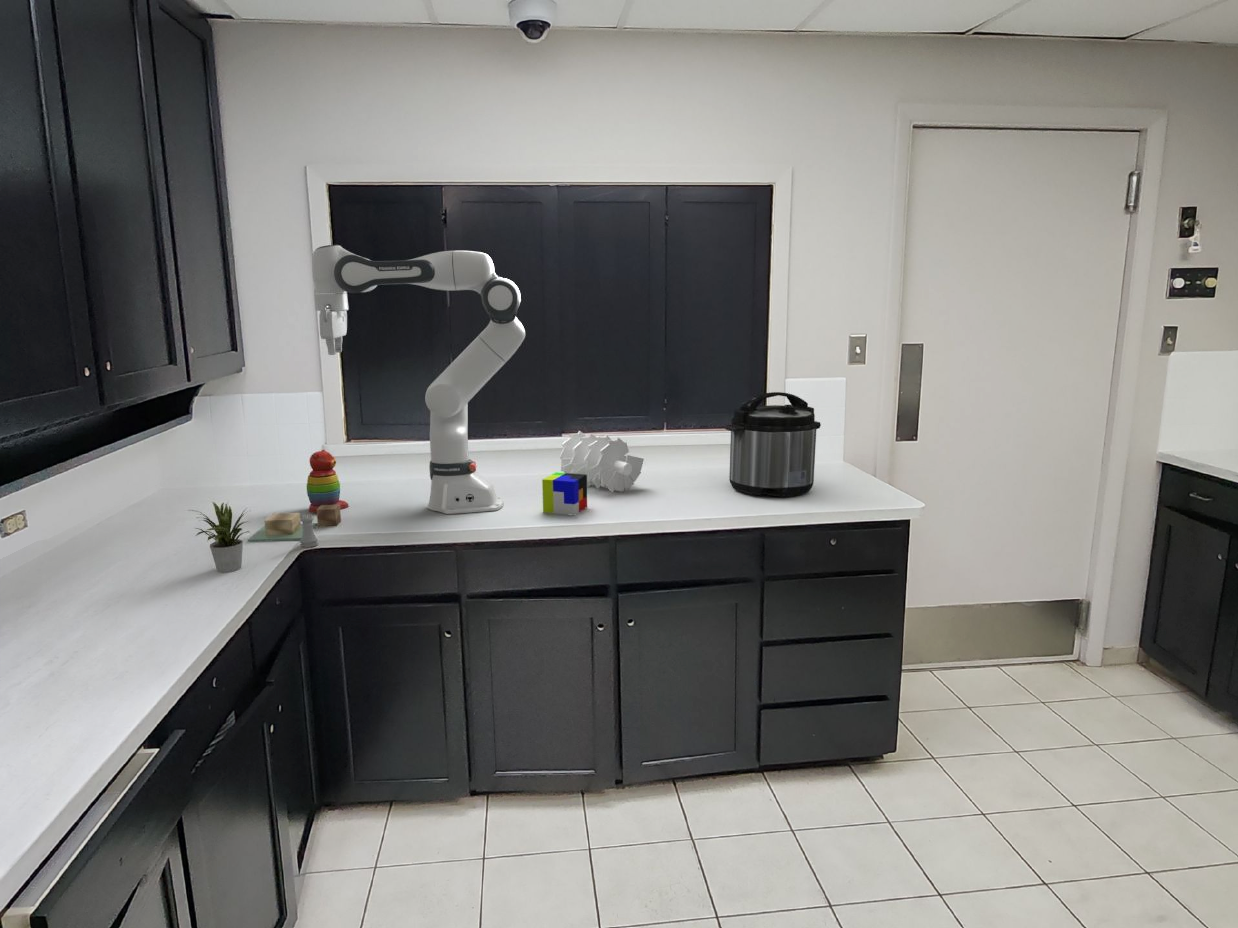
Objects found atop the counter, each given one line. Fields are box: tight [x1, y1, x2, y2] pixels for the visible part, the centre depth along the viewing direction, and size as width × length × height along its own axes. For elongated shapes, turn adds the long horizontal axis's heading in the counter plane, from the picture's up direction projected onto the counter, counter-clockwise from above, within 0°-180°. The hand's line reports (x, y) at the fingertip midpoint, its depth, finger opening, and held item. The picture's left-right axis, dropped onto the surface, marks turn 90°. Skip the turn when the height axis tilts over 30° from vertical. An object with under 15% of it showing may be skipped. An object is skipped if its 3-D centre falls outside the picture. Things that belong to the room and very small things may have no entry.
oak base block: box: [264, 512, 302, 535], centre depth 219 cm, size 7×7×4 cm
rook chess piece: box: [299, 513, 319, 549], centre depth 208 cm, size 4×4×8 cm
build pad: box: [247, 522, 318, 543], centre depth 220 cm, size 14×14×1 cm
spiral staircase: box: [558, 430, 645, 493], centre depth 268 cm, size 18×18×25 cm
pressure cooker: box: [724, 391, 822, 497], centre depth 264 cm, size 30×28×32 cm
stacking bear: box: [306, 449, 349, 515], centre depth 242 cm, size 11×10×18 cm
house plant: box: [187, 501, 252, 573], centre depth 191 cm, size 14×14×16 cm
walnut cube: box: [316, 505, 342, 528], centre depth 228 cm, size 5×5×5 cm
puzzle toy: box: [541, 471, 588, 516], centre depth 242 cm, size 10×10×10 cm
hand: (335, 353), depth 234 cm, fingers open, 8 cm apart
